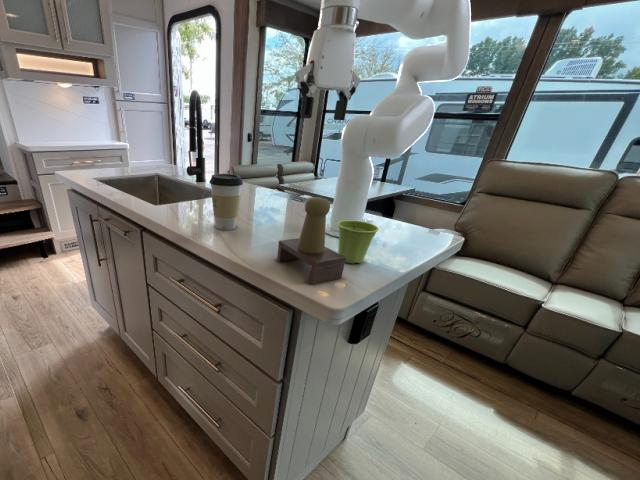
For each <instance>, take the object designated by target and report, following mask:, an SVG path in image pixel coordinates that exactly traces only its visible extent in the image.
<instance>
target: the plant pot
mask: <svg viewBox="0 0 640 480" xmlns="http://www.w3.org/2000/svg"><path fill="white" fill-rule="evenodd" d="M338 226H339V237H338V247H337V248H338V249H337V253H338V254H340V255H342V256H344V257H346V260H345V263H348V264H355V263H357V264H361V263H363V261H364V259H365V257H366V255H367V253H368V251H369V248H370V246H371V243H372V240H373V238H374V237H375V235H376V233H377V232H379V231H380V227H379V226H377V225H375V224H374V223H372V224H370V223H366V222H361V221H352V220H345V221H340V222H338Z"/></svg>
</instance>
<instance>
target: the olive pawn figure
mask: <svg viewBox="0 0 640 480" xmlns="http://www.w3.org/2000/svg"><path fill="white" fill-rule="evenodd" d="M330 210H331V203H330V200H329V199H327V198H324V197H320V196H314V197H309V198H308V199H307V200H306V201H305V203H304V211H305V217H304V220H303V221H304V222H303V224H302V228H301V231H300V235H299V237H298V238H299V242H298V246H297V248H298V249H299V250H301V251H303V252H307V253H322V252H323V251H324V248H325V247H326V245H325V243H326V232H325V226H326V224H327V223H326V221H327V215H328V214H329V213H330Z"/></svg>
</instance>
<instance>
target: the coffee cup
mask: <svg viewBox="0 0 640 480" xmlns="http://www.w3.org/2000/svg"><path fill="white" fill-rule="evenodd" d="M209 184H210V190H211V192H210V193H211V194H210V195H211V201H212V202H211V203H212V213H213V217H214V224H215V225H214V226H215V229H218V230H223V231H231V230H234V229H236V225H237V218H238V213H239V208H240V200H241V195H242V194H241V192H242V191H241V190H242V185H243V184H244V182H243V180H242V176H241V175H239V174H232V173H215V174H212V175H211V177H210V179H209Z"/></svg>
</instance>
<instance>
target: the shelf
mask: <svg viewBox="0 0 640 480" xmlns="http://www.w3.org/2000/svg"><path fill="white" fill-rule="evenodd" d="M299 238H300V237H297V238H289V239H282V240H278V246H277V255H276V256H277V257H276V261H277V262H279V263H281V262H288V261H294V260H295V261H296V260H301V261H303V262H304V263H305V264H308V265H309V266H310V273H309V279H308V283H309V284H310V285H318V284H323V283H326V282H332V281H337V280H341V279H342V277H343V273H344V268H345V264H346V262H345V260H346V257H344V256H342V255H340V254H338V252H336V251H334V250H332V249H330V248H328V247H326V246H325V248H324V251H323V252H322V253H307V252H303V251H301V250H299V249H298V248H297V246H298V242H299Z"/></svg>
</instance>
